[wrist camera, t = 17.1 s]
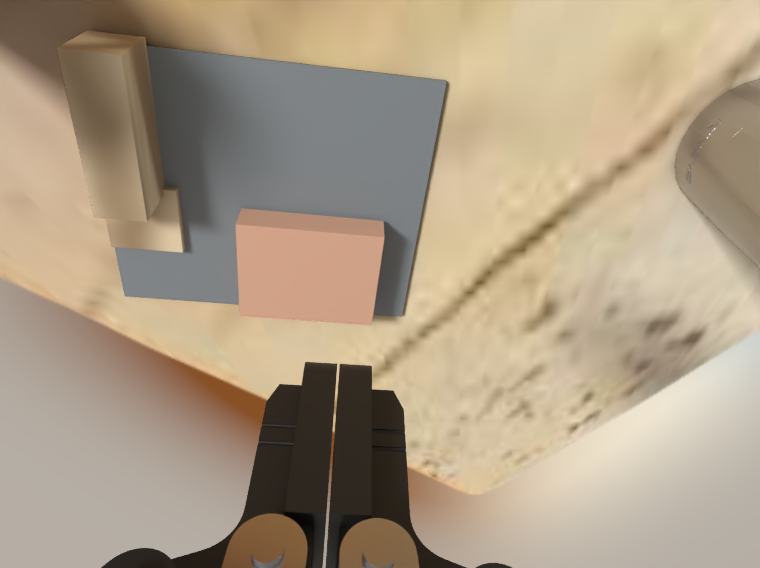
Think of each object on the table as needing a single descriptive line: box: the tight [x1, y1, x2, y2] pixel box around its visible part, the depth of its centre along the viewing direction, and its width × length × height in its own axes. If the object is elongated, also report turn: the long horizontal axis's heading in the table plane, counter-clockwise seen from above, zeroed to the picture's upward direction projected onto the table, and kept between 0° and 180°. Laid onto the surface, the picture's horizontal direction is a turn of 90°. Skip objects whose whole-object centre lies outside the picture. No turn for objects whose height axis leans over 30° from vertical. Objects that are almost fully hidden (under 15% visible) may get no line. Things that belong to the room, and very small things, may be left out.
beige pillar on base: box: [56, 30, 185, 253], centre depth 34 cm, size 5×14×4 cm, turn 173°
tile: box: [236, 208, 385, 325], centre depth 40 cm, size 2×8×10 cm
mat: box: [72, 37, 447, 316], centre depth 38 cm, size 22×19×1 cm
